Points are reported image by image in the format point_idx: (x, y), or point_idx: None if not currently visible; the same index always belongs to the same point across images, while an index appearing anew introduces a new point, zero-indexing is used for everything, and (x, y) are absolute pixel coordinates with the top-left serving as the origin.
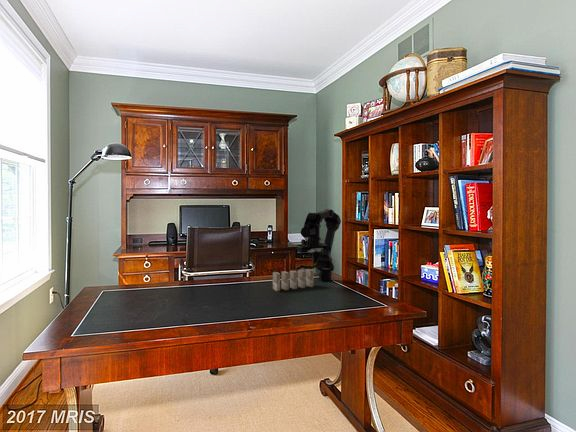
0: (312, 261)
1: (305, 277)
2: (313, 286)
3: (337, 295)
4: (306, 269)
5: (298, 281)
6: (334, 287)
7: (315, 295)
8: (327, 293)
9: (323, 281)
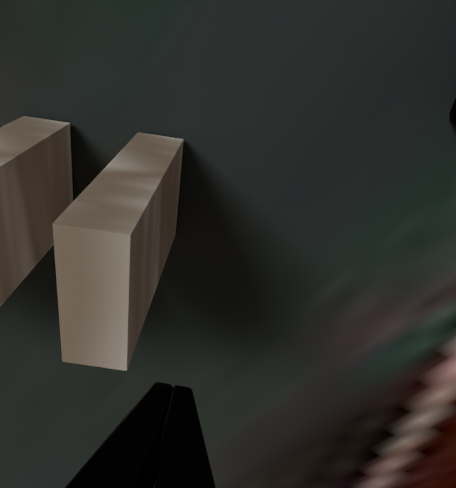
0: (120, 430)
1: (18, 284)
2: (174, 235)
3: None
4: (56, 234)
5: None
6: (343, 344)
7: (45, 414)
8: None
9: (451, 119)
